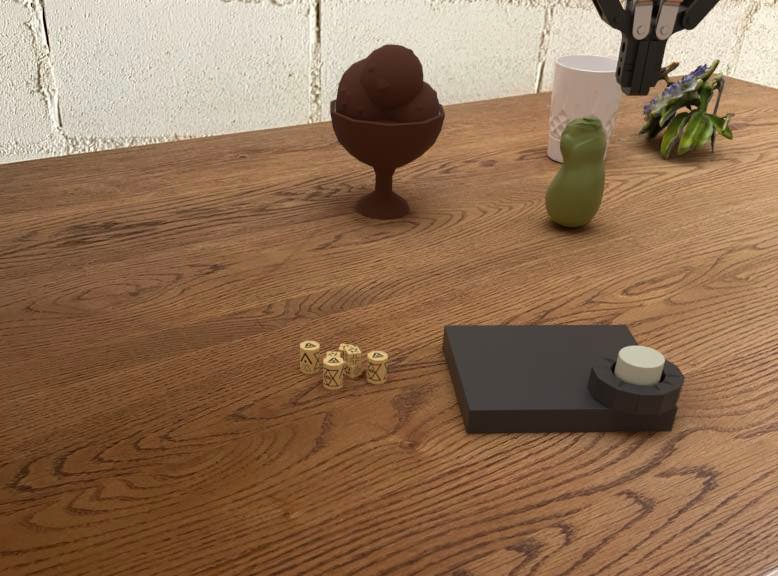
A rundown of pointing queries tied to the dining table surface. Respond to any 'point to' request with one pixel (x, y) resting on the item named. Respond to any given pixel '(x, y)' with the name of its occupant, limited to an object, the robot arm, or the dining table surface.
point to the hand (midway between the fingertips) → (634, 92)
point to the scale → (553, 380)
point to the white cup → (582, 95)
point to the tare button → (639, 365)
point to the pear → (578, 174)
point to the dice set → (342, 364)
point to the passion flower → (698, 120)
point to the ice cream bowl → (386, 121)
